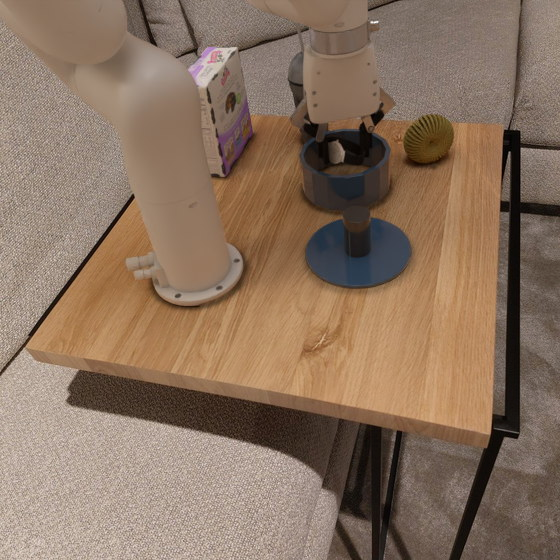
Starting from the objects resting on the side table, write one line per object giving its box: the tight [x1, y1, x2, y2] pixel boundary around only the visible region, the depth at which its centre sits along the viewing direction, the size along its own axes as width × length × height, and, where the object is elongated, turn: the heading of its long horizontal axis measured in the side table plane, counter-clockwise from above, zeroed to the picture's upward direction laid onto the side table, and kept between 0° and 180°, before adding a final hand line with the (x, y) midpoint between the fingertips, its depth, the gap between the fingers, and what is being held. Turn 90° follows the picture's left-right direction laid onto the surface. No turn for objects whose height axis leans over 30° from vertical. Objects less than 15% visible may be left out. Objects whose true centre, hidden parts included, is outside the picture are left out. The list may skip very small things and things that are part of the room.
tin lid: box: [305, 206, 412, 289], centre depth 78 cm, size 14×14×7 cm
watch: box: [326, 136, 365, 166], centre depth 87 cm, size 8×5×4 cm, turn 37°
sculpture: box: [402, 113, 455, 164], centre depth 92 cm, size 8×4×8 cm, turn 101°
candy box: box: [187, 46, 254, 178], centre depth 97 cm, size 14×6×16 cm, turn 162°
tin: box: [298, 128, 392, 212], centre depth 90 cm, size 13×13×6 cm
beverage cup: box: [287, 22, 329, 144], centre depth 97 cm, size 7×7×20 cm
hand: (344, 155), depth 88 cm, fingers closed on watch, 5 cm apart
